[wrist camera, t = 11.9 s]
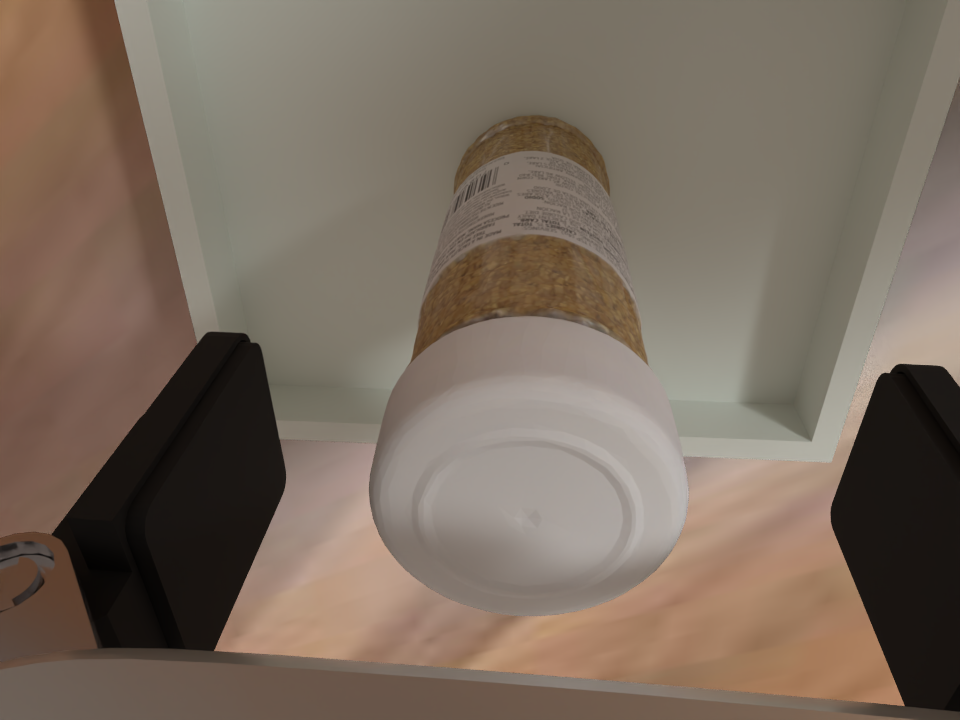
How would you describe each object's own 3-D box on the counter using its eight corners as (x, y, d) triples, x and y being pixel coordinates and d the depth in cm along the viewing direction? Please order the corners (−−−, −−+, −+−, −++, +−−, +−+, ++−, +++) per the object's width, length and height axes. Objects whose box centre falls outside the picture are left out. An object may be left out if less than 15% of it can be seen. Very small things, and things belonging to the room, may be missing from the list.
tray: (961, -138, 18) (1032, -142, 15) (803, 406, 26) (831, 462, 24) (142, -136, 19) (80, -139, 16) (249, 386, 27) (220, 436, 25)
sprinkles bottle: (514, 286, 23) (491, 665, 12) (421, 171, 21) (293, 490, 10) (641, 205, 22) (755, 557, 10) (553, 73, 20) (573, 323, 8)
